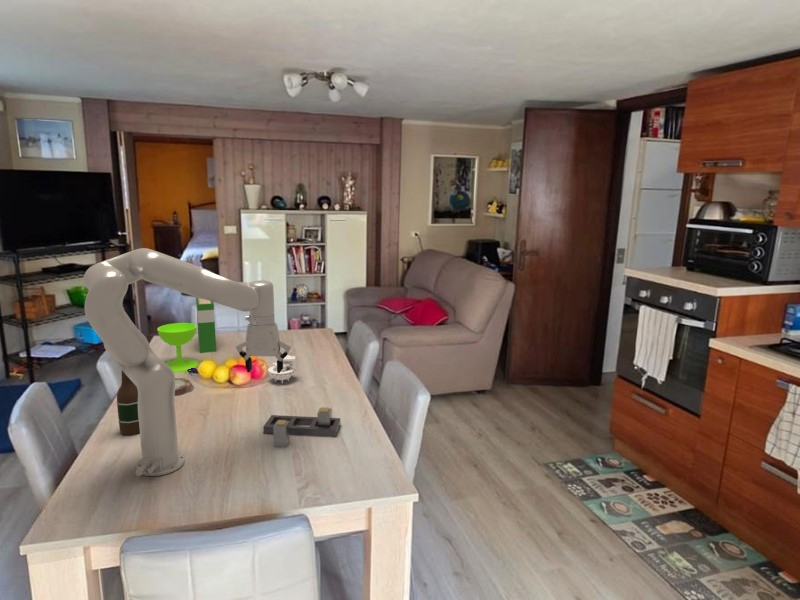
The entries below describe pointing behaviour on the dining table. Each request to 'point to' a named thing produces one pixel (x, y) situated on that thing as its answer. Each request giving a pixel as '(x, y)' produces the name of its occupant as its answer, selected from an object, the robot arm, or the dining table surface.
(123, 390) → the beer bottle
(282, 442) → the brushed metal block
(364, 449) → the dining table surface
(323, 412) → the grey tan rectangular block
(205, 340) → the hardback book
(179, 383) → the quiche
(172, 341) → the green goblet
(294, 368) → the mechanical part
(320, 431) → the rail
